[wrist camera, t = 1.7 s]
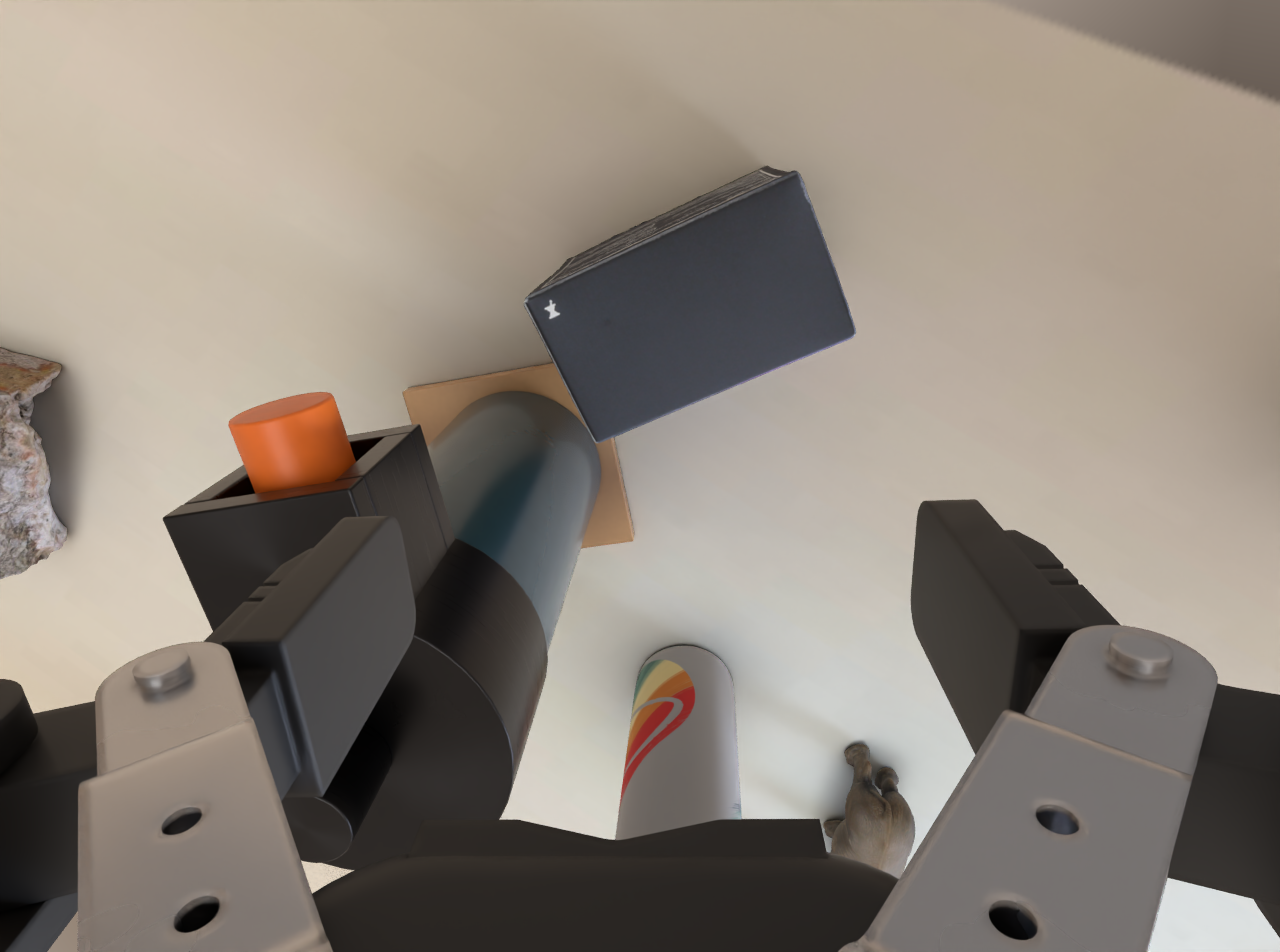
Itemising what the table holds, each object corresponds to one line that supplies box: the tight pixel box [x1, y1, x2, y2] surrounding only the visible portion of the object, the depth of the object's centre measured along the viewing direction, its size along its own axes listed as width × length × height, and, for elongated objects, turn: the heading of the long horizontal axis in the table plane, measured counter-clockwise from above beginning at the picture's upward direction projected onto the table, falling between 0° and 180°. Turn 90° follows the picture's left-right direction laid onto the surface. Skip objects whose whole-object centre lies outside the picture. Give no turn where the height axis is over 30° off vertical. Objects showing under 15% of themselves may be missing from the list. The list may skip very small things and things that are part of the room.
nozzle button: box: [229, 392, 356, 494], centre depth 21 cm, size 3×3×3 cm
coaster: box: [403, 363, 634, 548], centre depth 41 cm, size 10×10×1 cm
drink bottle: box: [163, 391, 601, 870], centre depth 29 cm, size 12×9×24 cm
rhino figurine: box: [823, 744, 915, 879], centre depth 46 cm, size 4×14×6 cm, turn 175°
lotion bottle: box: [615, 646, 742, 840], centre depth 36 cm, size 6×6×20 cm
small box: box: [524, 166, 856, 443], centre depth 32 cm, size 11×6×10 cm, turn 115°
